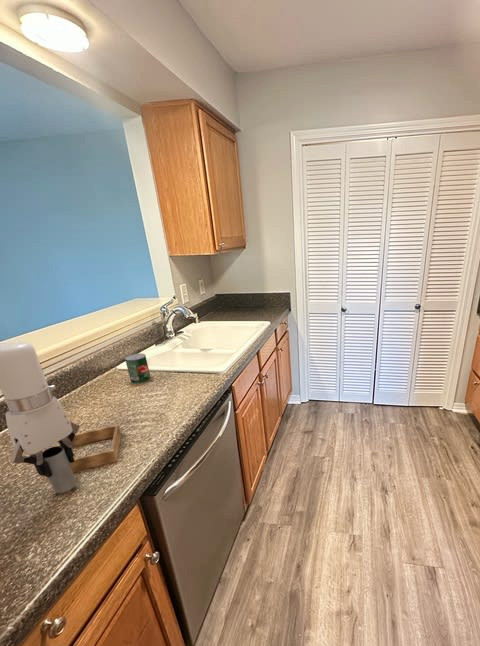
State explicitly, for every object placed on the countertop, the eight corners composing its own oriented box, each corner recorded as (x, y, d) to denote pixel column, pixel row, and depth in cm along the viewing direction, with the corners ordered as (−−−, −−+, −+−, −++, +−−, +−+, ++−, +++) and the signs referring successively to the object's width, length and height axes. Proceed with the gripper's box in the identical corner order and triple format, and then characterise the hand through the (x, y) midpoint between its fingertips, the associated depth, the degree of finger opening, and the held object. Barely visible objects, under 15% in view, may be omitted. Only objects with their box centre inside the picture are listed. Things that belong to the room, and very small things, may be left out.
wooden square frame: (53, 477, 83) (48, 466, 81) (66, 446, 95) (62, 436, 94) (117, 461, 88) (113, 450, 87) (121, 433, 100) (118, 424, 99)
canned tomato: (132, 378, 141) (126, 354, 137) (152, 375, 143) (146, 352, 139) (129, 385, 134) (123, 361, 130) (150, 382, 136) (144, 358, 132)
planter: (71, 492, 76) (57, 456, 72) (50, 495, 76) (35, 459, 72) (80, 478, 81) (67, 444, 77) (60, 481, 80) (46, 447, 76)
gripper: (58, 381, 78) (81, 444, 85) (-29, 416, 63) (7, 489, 70) (79, 385, 75) (101, 450, 82) (-6, 422, 61) (29, 497, 68)
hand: (58, 467), depth 76 cm, fingers closed on planter, 4 cm apart
